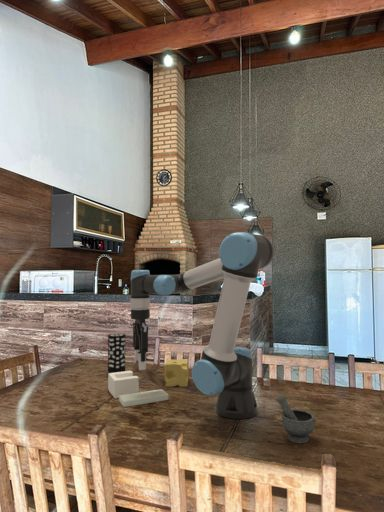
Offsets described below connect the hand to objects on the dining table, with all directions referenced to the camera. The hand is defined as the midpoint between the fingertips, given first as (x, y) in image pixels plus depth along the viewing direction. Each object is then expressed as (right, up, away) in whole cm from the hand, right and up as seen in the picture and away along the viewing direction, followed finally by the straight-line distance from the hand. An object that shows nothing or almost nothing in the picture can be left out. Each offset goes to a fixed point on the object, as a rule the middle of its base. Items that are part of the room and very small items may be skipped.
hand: (140, 367), depth 144 cm
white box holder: (-9, -13, +10) cm, 19 cm away
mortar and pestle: (+52, -11, -33) cm, 63 cm away
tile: (+3, -4, +1) cm, 5 cm away
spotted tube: (-16, -15, +33) cm, 40 cm away
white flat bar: (+1, -13, 0) cm, 13 cm away
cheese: (+13, -14, +22) cm, 29 cm away
